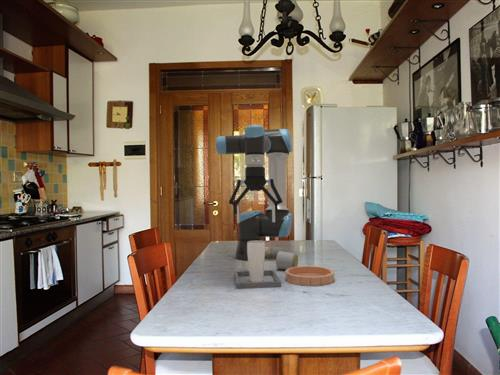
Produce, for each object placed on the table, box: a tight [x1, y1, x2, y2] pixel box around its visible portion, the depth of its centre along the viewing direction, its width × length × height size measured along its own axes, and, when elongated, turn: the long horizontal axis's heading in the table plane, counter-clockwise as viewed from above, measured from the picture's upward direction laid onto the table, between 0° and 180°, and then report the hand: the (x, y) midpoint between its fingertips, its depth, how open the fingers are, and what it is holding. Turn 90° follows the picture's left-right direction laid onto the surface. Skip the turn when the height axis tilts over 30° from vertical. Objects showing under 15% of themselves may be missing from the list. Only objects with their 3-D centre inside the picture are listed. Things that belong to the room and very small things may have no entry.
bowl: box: [284, 265, 335, 287], centre depth 143 cm, size 18×18×3 cm
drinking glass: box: [247, 240, 266, 282], centre depth 142 cm, size 7×7×15 cm
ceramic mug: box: [275, 250, 299, 271], centre depth 161 cm, size 11×8×8 cm
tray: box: [234, 269, 282, 289], centre depth 142 cm, size 18×16×2 cm
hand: (255, 222), depth 141 cm, fingers open, 13 cm apart
